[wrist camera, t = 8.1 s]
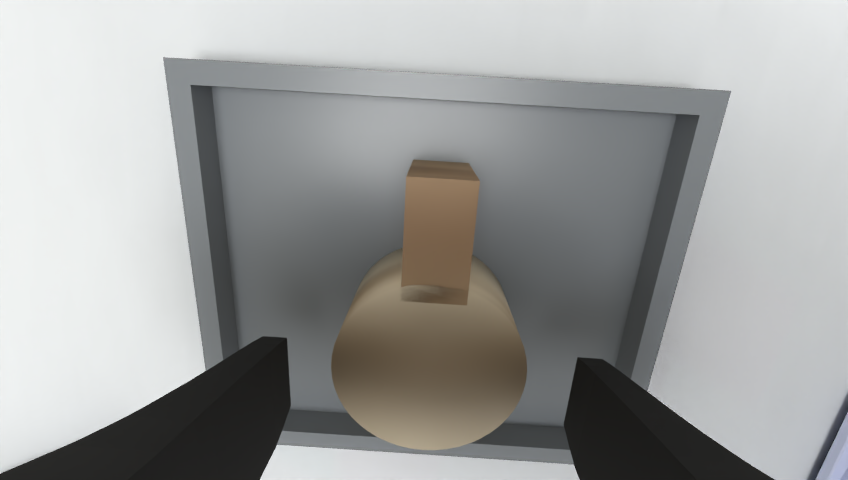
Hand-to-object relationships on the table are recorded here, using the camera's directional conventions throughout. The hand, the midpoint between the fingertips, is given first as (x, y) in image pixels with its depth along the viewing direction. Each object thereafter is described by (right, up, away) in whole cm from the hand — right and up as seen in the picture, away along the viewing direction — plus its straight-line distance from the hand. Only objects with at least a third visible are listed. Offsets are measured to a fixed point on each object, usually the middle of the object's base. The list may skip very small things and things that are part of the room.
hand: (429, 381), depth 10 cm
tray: (0, +2, +3) cm, 4 cm away
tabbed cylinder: (0, +2, +3) cm, 4 cm away
